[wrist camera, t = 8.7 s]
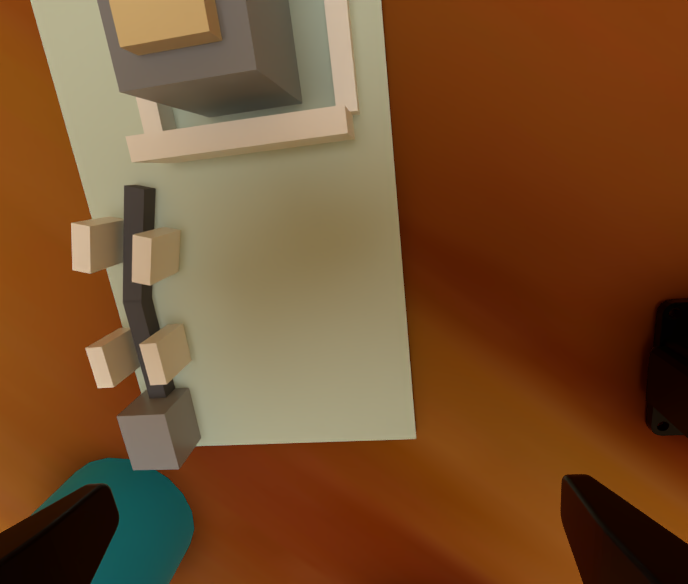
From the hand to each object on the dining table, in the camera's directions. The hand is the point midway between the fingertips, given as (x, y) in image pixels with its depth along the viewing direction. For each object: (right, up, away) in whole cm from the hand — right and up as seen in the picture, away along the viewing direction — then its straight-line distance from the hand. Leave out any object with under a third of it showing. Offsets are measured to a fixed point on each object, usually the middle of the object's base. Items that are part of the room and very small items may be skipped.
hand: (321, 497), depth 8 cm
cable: (-9, +4, +12) cm, 15 cm away
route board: (-4, +7, +11) cm, 14 cm away
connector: (-3, +13, +8) cm, 16 cm away
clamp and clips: (-9, +2, +12) cm, 15 cm away
